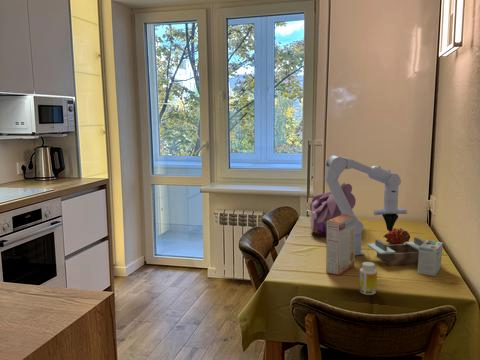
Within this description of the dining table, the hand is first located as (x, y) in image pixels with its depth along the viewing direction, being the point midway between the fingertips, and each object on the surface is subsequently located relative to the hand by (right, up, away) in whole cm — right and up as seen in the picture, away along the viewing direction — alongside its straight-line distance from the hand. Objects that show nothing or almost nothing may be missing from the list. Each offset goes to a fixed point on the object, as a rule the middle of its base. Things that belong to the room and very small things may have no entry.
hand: (389, 230), depth 191 cm
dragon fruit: (+8, -8, +13) cm, 17 cm away
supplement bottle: (-22, -17, -42) cm, 50 cm away
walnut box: (+1, -11, -9) cm, 15 cm away
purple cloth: (-17, -5, +36) cm, 40 cm away
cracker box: (-26, -13, -19) cm, 35 cm away
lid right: (+10, -6, -9) cm, 14 cm away
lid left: (-8, -6, -11) cm, 15 cm away
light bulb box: (+8, -13, -22) cm, 27 cm away
